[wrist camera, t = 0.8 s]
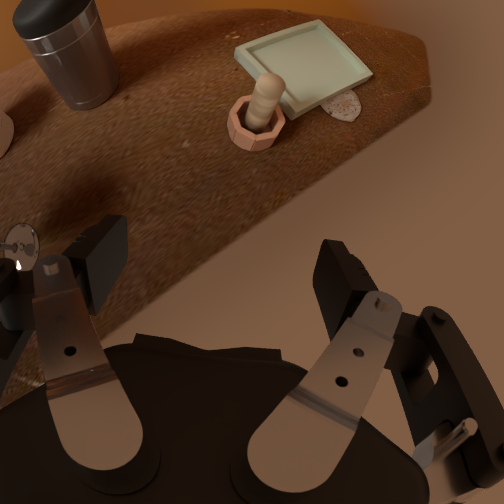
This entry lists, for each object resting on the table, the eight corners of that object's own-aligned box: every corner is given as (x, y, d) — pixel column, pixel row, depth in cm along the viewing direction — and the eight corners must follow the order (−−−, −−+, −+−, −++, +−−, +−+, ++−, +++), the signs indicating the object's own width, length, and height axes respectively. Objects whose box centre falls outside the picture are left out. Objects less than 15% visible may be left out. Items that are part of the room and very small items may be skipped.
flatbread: (305, 90, 41) (307, 87, 40) (337, 76, 42) (339, 73, 41) (338, 130, 41) (340, 128, 40) (368, 113, 42) (371, 110, 41)
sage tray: (291, 120, 40) (296, 112, 37) (233, 57, 39) (235, 47, 36) (366, 81, 43) (373, 74, 40) (314, 27, 42) (319, 19, 39)
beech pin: (239, 121, 38) (253, 74, 27) (260, 117, 38) (280, 71, 27) (245, 139, 38) (262, 96, 27) (266, 135, 38) (289, 93, 27)
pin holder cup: (222, 114, 38) (225, 99, 34) (267, 106, 39) (274, 91, 35) (236, 156, 38) (240, 144, 34) (282, 146, 39) (290, 134, 35)
